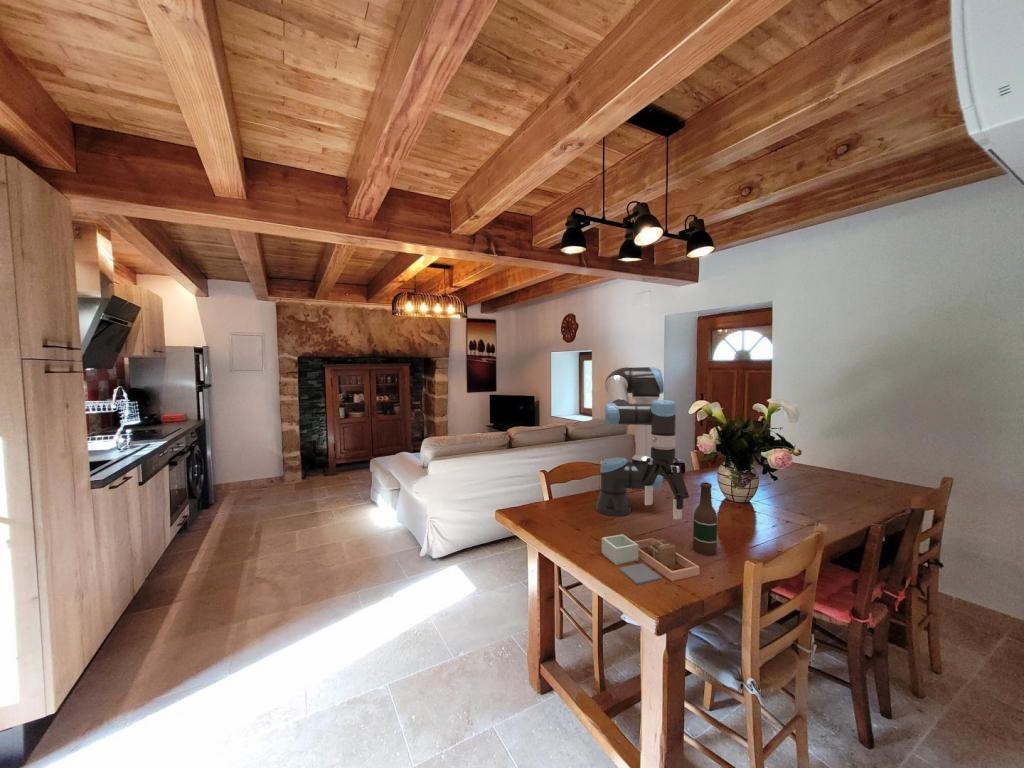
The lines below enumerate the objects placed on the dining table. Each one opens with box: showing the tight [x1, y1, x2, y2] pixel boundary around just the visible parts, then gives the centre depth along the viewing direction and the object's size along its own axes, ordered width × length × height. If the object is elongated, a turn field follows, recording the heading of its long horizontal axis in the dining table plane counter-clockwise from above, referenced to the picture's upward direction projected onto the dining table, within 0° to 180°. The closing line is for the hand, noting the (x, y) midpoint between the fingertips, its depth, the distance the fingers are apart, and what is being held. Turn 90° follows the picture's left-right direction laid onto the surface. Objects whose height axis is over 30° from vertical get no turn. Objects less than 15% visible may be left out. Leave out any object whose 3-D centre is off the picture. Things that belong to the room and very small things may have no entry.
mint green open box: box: [601, 533, 639, 566], centre depth 130 cm, size 9×9×6 cm
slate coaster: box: [618, 562, 663, 586], centre depth 119 cm, size 9×9×1 cm
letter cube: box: [647, 538, 677, 567], centre depth 127 cm, size 6×6×6 cm
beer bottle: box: [692, 481, 718, 557], centre depth 134 cm, size 8×8×24 cm
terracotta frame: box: [633, 537, 701, 582], centre depth 127 cm, size 22×11×2 cm, turn 19°
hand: (662, 511), depth 127 cm, fingers open, 13 cm apart
